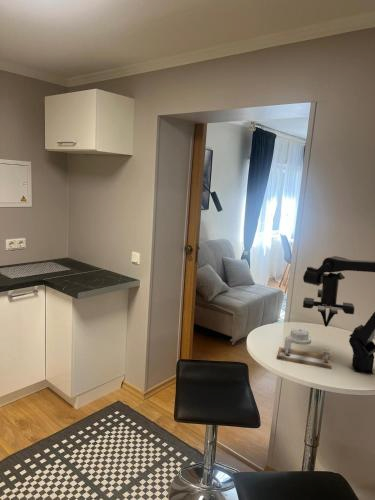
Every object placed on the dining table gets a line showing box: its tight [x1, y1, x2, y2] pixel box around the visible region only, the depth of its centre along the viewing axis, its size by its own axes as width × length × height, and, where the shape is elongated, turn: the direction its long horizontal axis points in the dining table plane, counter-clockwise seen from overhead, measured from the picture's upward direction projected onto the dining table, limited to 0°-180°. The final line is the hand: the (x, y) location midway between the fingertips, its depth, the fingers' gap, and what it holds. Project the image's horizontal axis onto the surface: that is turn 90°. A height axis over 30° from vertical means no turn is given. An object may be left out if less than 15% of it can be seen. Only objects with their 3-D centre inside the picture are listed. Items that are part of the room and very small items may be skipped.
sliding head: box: [283, 336, 293, 355], centre depth 147 cm, size 2×6×5 cm, turn 160°
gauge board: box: [276, 346, 333, 370], centre depth 145 cm, size 20×9×4 cm, turn 70°
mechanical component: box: [287, 327, 312, 345], centre depth 164 cm, size 10×4×10 cm
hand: (325, 326), depth 148 cm, fingers closed
